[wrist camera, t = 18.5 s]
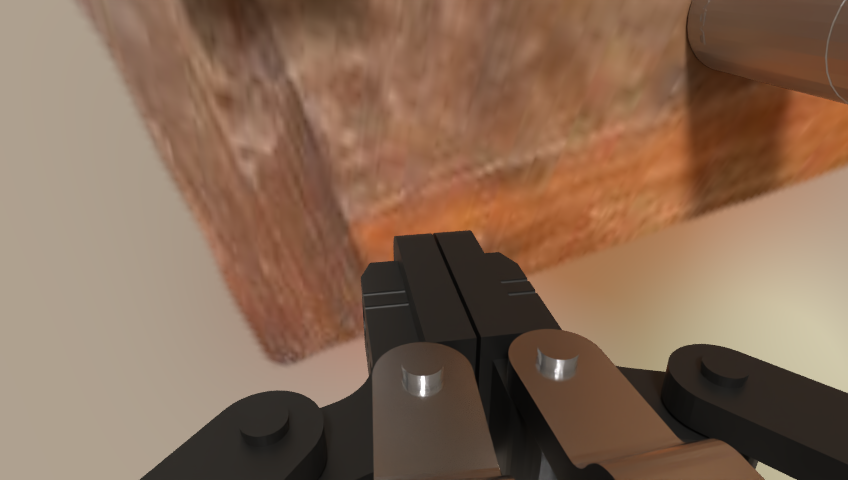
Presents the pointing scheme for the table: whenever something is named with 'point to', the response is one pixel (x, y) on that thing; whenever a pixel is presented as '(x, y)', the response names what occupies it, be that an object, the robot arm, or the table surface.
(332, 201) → the table surface
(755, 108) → the table surface
